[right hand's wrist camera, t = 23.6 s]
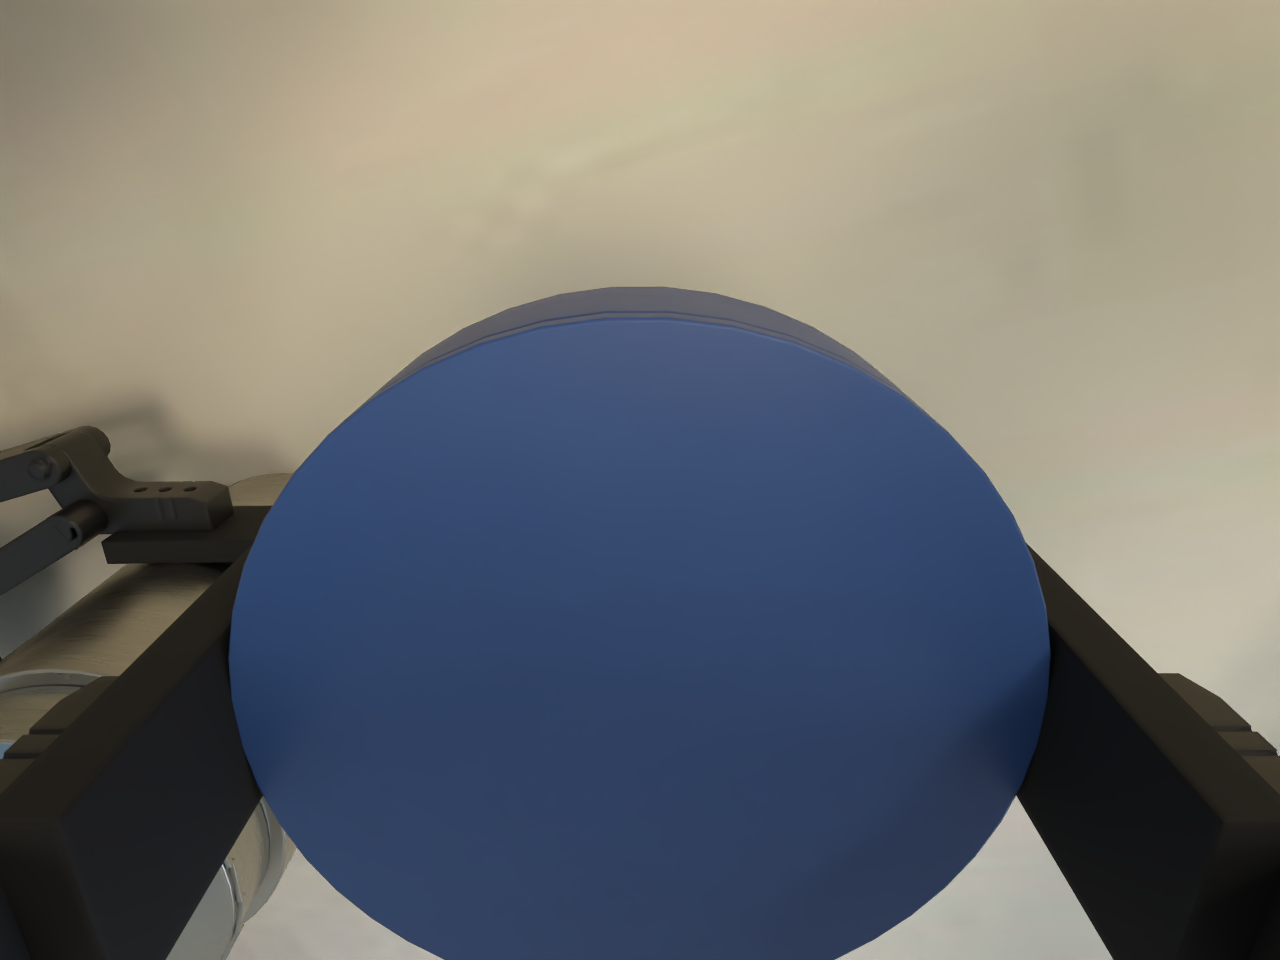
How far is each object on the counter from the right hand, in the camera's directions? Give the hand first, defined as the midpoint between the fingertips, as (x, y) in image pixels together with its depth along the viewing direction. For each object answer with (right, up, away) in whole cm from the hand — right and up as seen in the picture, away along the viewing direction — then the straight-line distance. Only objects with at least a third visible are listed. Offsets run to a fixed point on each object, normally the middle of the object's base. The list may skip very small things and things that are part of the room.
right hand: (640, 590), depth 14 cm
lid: (0, -1, -3) cm, 3 cm away
